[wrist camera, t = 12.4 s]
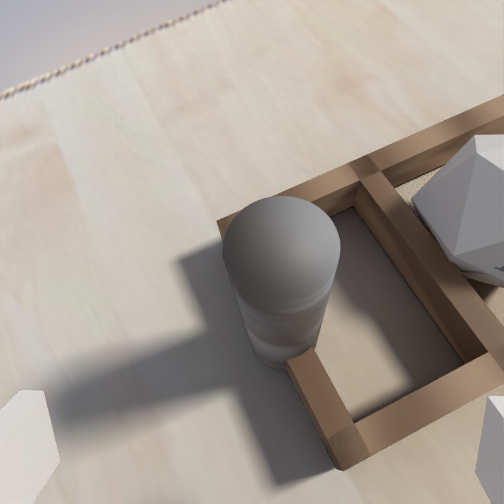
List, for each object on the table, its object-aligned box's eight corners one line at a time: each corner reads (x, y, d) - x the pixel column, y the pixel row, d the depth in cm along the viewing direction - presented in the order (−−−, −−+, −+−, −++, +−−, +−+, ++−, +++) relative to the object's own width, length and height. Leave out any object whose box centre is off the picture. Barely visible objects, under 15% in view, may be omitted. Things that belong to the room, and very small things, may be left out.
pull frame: (498, 119, 31) (612, -60, 20) (671, 285, 24) (978, 151, 13) (206, 250, 28) (155, 122, 17) (315, 480, 21) (344, 508, 10)
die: (372, 237, 28) (446, 269, 18) (436, 116, 27) (553, 80, 17) (475, 287, 29) (597, 343, 19) (541, 172, 28) (709, 170, 18)
